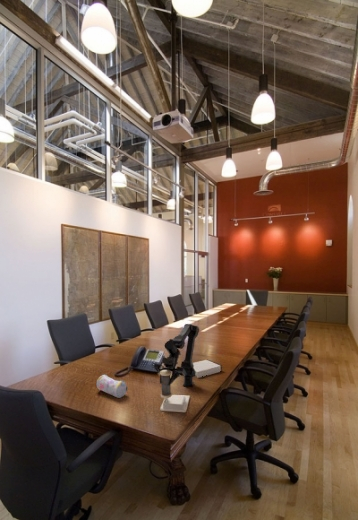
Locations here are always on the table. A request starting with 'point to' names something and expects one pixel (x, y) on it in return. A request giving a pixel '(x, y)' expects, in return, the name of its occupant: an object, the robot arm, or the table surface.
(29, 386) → the table surface
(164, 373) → the disc
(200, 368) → the disc drive
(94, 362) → the table surface
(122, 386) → the pencil case
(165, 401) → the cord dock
